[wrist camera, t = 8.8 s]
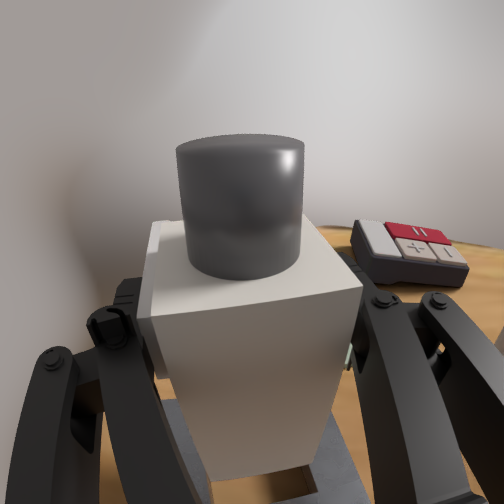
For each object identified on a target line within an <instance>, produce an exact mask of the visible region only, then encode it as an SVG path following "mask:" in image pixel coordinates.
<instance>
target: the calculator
mask: <svg viewBox="0 0 504 504" xmlns="http://www.w3.org/2000/svg"><path fill="white" fill-rule="evenodd" d="M350 243H351V245H352V248H353V251H354V254H355V257H356V260H357V262H358V265H359V267H360V268H361V269H362V270H363V272H364V273H365V274H366V275H367V276H368V277H369V278H370V280H371V281H372V282H373V283H381V284H393V283H396V282H398V281H403V282H413V283H423V284H433V285H444V286H454V287H462V286H463V284H464V281H465V279H466V277H467V274H468V272H469V267H468V266H467V262H466V260H465V259H464V258H463V257H462V256H461V254H460V253H459V252H458V251H457V250H456V248H455V247H453V246H451V245H452V244H451V242H450V241H449V240H448V239H447V238H446V237H445V236H444V235H443V233H442V232H441V231H439V230H434V229H428V228H422V227H416V226H410V225H404V224H398V223H391V222H385V224H382V223H381V222H377V221H370V220H363V219H359V220H355V222H354V226H353V230H352V235H351V239H350Z"/></svg>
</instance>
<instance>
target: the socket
mask: <svg viewBox="0 0 504 504" xmlns="http://www.w3.org/2000/svg"><path fill="white" fill-rule="evenodd" d="M161 402H162V405H163V408H164V411H165V414H166V416H167V419H168V422H169V425H170V427H171V430H172V433H173V435H174V438H175V441H176V443H177V446H178V448H179V451H180V453H181V456H182V458H183V460H184V463H185V465H186V468H187V470H188V472H189V474H190V477H191V479H192V481H193V484H194V486H195V488H196V490H197V492H198V494H199V497H200V499H201V501H202V503H203V504H214V501H213V495H212V489H211V483H210V479H209V477H208V474H207V472H206V470H205V468H204V465H203V463H202V461H201V458H200V456H199V454H198V451H197V449H196V447H195V444H194V442H193V439H192V437H191V434H190V432H189V429H188V427H187V424H186V422H185V419H184V416H183V414H182V411H181V408H180V406H179V403H178V400H177V399H168V400H161ZM301 469H302V472H303V475H304V478H305V481H306V484H307V487H308V490H309V492H310V495H306V496H302V497H298V498H294V499H289V500H285V501H280V502H275V503H271V504H371V502H370V500H369V498H368V495H367V493H366V491H365V488H364V486H363V484H362V481H361V479H360V477H359V474H358V472H357V470H356V467H355V465H354V463H353V460H352V458H351V456H350V453H349V451H348V449H347V446H346V444H345V442H344V439H343V437H342V435H341V433H340V430H339V428H338V426H337V423H336V421H335V419H334V416H333V414H332V412H331V411H330V414H329V417H328V420H327V423H326V426H325V429H324V432H323V435H322V438H321V440H320V443H319V446H318V449H317V451H316V454H315V457H314V459H313V462H312V463H311V464H307V465H303V466H301Z"/></svg>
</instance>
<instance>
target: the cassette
mask: <svg viewBox="0 0 504 504" xmlns="http://www.w3.org/2000/svg"><path fill="white" fill-rule="evenodd" d="M494 346H495V347H496V348H497V349H498V350H499V352H500V353H501V354H502V355H503V356H504V327H503V329H502V331H501V333H500V335H499V336H498V338H497V340H496V342H495V344H494Z"/></svg>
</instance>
